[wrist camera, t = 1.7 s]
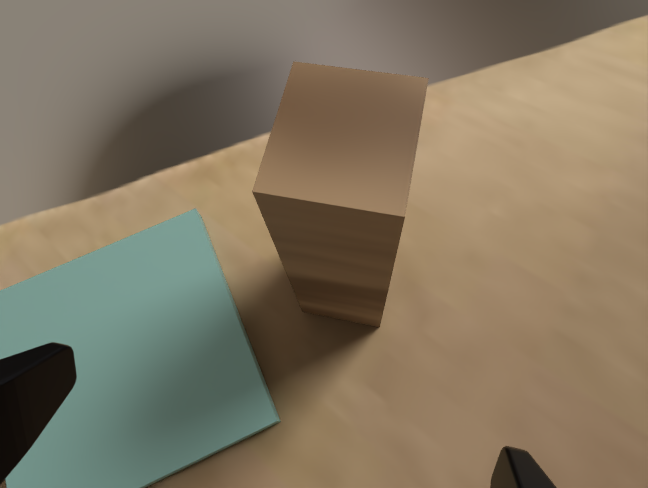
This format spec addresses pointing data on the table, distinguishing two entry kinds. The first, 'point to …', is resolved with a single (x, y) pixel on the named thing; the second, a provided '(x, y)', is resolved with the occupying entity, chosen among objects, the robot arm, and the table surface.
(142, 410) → the teal board
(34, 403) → the robot arm
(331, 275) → the walnut block
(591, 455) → the table surface
